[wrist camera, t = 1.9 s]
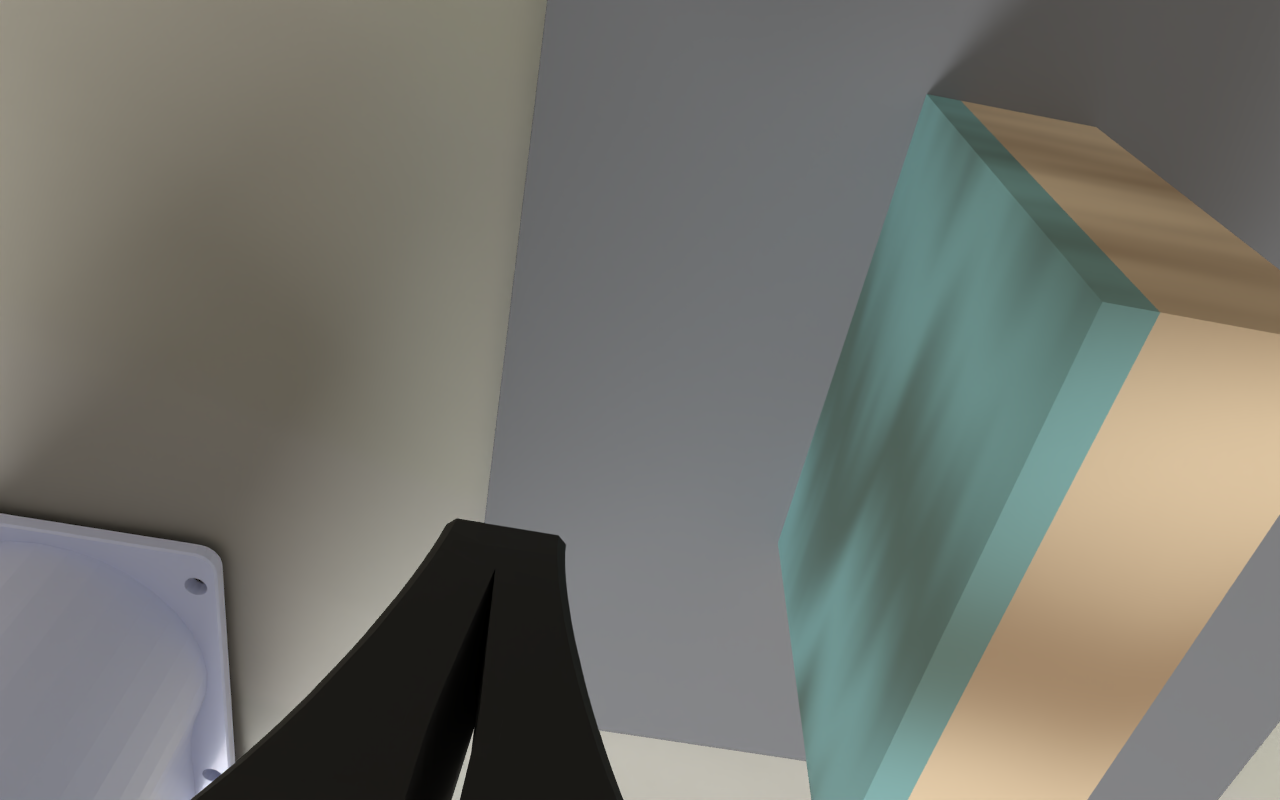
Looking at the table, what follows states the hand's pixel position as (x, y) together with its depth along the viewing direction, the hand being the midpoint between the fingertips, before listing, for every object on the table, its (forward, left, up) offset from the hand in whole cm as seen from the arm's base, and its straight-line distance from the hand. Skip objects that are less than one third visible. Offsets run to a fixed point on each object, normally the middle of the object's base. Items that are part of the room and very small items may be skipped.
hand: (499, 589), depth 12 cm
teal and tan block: (0, -7, -8) cm, 11 cm away
